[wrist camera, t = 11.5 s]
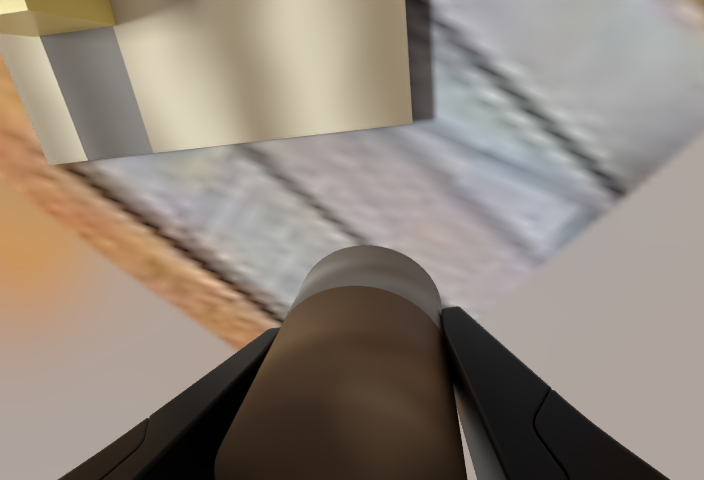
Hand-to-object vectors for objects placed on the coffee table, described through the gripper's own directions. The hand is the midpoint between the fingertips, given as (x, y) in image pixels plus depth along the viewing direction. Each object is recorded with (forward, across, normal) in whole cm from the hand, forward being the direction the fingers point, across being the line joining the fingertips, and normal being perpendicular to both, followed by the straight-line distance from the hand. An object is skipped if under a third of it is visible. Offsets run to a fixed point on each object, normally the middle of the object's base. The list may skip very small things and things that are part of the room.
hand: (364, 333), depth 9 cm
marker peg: (+1, 0, 0) cm, 1 cm away
